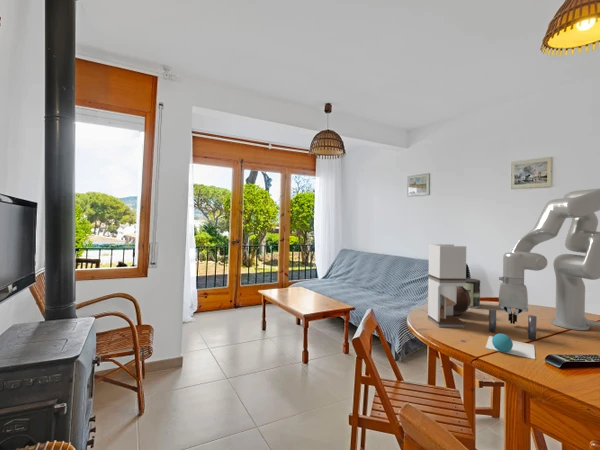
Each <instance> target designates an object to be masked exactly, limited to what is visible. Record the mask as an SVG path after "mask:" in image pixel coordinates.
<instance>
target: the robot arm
mask: <svg viewBox="0 0 600 450" xmlns="http://www.w3.org/2000/svg"><path fill="white" fill-rule="evenodd" d="M598 211H600V188H592V189H591V188H590V189H589V188H588V189H581V190H579V189H578V190H573V191H569V192H567V193H566V194H564V196H563V198H556V199H551V200H548V201H547V203H546V204H545V206H544V208H543V209H542V211H541V213H540V215H539V217H538V219H537V222H536V223H535V225H534V226H533V228H532V229H531V230H530V231H528V232H527V233H526V234H524V235H523V236H522V237H521V238H520V239H519V240H518V241H517V242H516V244H515V246H514V248H513V249H512V252H505V253H504V254H503V255H502V256H503V263H502V276H499V277H498V280H499V281H502V282H501V283H500V284H499V285H500V286H499V291H498V308H500V309H503V310H504V311H505V312H506V313H507V314H508V322H510V324H511V325H512V324H513V325H515V323H518V315H519V314H520V313H523V312H524V313H528V312H529V308H528V305H529V304H528V301H529V300H528V299H529V297H528V296H529V295H528V289H527V285H525V270H529V271H542V270H544V269H546V268H547V267H548V259H547V257H545V256H544V255H543V254H541V253H538V252H531V251H532V250H533V249H534V248H535V247H536V246H538V245H539V244H542V243H544V242H546V241H549V240H552V239H554V238H556V237H557V236H558V235H559V234H560V231H561V228H562V226H563V225H564V223H565V221H566V219H571V222H570V226H569V229H568V233H567V235H566V237H565V240H564V241H565V243H564V246H565V248H566V249H567V250H568V251H570V252H574V253H575V252H576V253H580V254H573V253H563V254H562V253H561V254H559V255H557V256H556V257H555V258H554V260H553V262H552V263H553V265H552V266H553V270H554V275H555V317H554V318H551V319H550V323H551V324H553V325H554V326H557V327H561V328H563V329H568V330H574V331H590V326H593V327H600V321H595V320H592V319H587V317H586V316H585V312H586V311H585V310H586V309H585V307H586V285H585V282H584V280H583V279H586V280H591V281H592V280H593V281H594V280H600V231H597V229H598V225H599V219H598V216H597V214H595V213H596V212H598ZM581 254H585V255H581ZM512 309H514V311H513V312H512Z"/></svg>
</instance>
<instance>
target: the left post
mask: <svg viewBox="0 0 600 450" xmlns="http://www.w3.org/2000/svg"><path fill="white" fill-rule="evenodd" d="M488 332H490V333H497V310H496V309H494V308H489V309H488Z"/></svg>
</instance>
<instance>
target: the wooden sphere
mask: <svg viewBox="0 0 600 450" xmlns="http://www.w3.org/2000/svg"><path fill="white" fill-rule="evenodd" d="M456 287H457V295H456V305H453V316H454V315H456V316H457V315H462V314H464V313H465V312H467V310H469V309H470V308H469V307H470V304H471V298H470V295H469V293H468V291H467V290H466V289H465V288H464V287H462V286H456Z"/></svg>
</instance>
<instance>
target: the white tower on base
mask: <svg viewBox="0 0 600 450" xmlns="http://www.w3.org/2000/svg"><path fill="white" fill-rule="evenodd" d="M466 278H467V246H466V245H465V246H463V245H461V246H460V245H458V246H457V245H455V244H451V243H449V244H448V243H447V244H443V243H441V244H435V243H433V244H430V243H429V244H428V278H427V279H428V287H427V288H428V289H427V290H428V291H427V292H428V293H427V297H428V298H427V320H428V321H430V322H431V323H432V322H433V323H432V324H434V325H435V326H436V325H437V326H436V327H438V328H466V322H465V321H463V320H461V319H460V318H458V317H457V316H454V315H453V305H456V295H457V287H456V286H466Z"/></svg>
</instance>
